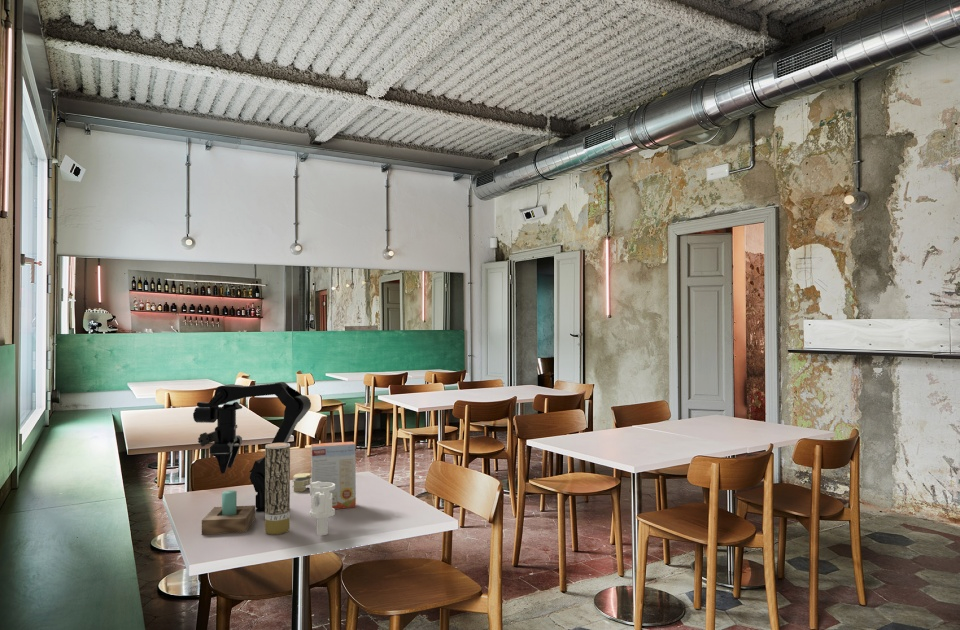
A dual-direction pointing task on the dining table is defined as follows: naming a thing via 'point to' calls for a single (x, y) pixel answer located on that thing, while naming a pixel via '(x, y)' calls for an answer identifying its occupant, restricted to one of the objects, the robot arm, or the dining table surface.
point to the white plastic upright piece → (321, 505)
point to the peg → (229, 502)
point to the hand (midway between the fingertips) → (226, 470)
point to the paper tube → (277, 488)
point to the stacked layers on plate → (301, 481)
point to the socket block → (228, 520)
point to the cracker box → (336, 471)
